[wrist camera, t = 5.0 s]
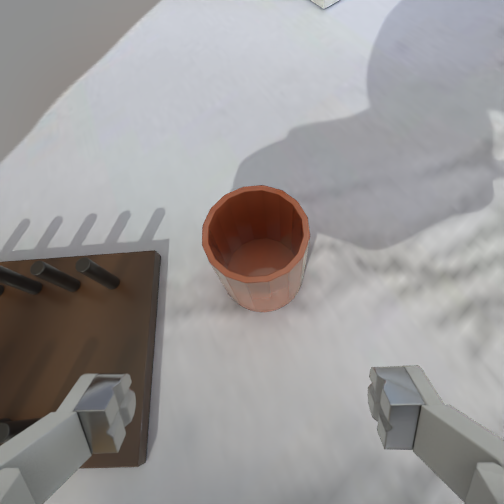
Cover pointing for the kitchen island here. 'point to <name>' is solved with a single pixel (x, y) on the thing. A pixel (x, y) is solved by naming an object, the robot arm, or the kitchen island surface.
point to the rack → (77, 338)
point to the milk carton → (324, 3)
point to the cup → (258, 246)
